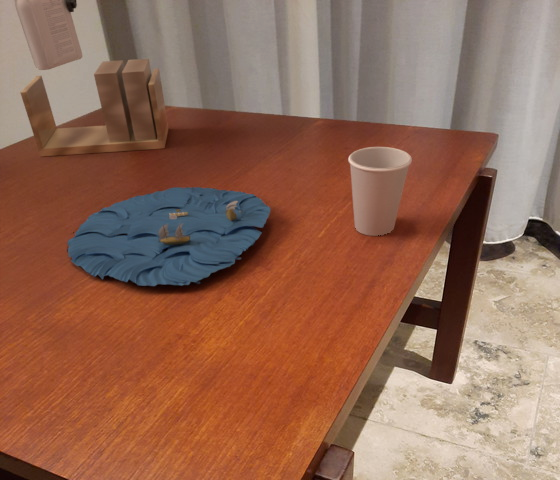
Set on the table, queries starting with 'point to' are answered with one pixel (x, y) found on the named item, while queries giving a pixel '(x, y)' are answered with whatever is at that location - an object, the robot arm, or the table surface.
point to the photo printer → (49, 32)
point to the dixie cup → (377, 187)
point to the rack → (105, 113)
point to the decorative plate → (169, 235)
